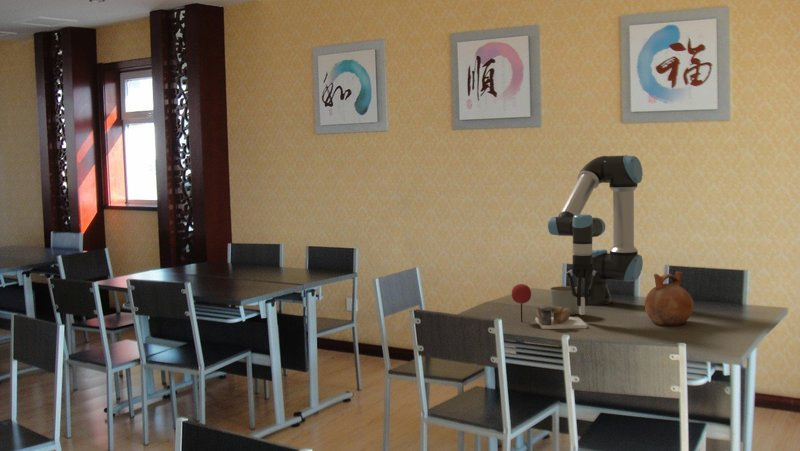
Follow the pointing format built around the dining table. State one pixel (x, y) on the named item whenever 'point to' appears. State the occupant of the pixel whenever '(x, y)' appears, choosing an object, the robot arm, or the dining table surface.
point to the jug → (669, 301)
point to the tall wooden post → (544, 316)
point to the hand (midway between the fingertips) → (582, 314)
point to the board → (564, 324)
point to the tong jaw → (557, 313)
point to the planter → (564, 298)
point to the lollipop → (521, 294)
